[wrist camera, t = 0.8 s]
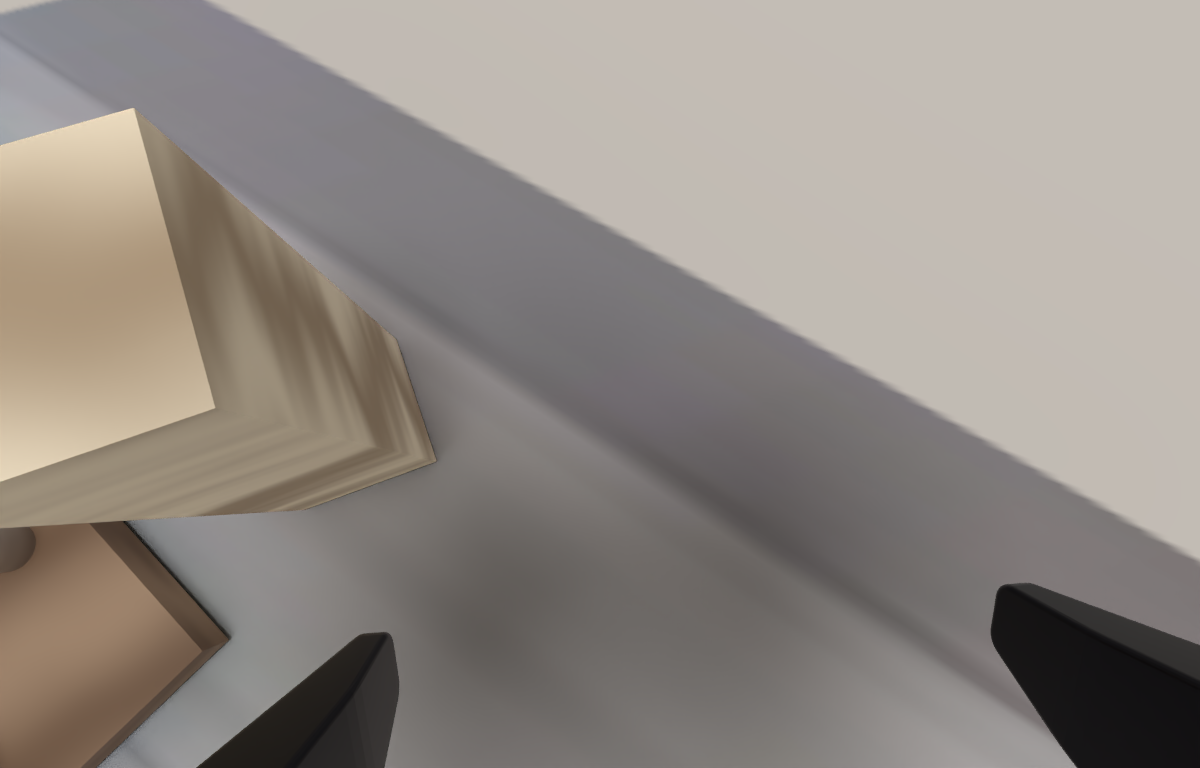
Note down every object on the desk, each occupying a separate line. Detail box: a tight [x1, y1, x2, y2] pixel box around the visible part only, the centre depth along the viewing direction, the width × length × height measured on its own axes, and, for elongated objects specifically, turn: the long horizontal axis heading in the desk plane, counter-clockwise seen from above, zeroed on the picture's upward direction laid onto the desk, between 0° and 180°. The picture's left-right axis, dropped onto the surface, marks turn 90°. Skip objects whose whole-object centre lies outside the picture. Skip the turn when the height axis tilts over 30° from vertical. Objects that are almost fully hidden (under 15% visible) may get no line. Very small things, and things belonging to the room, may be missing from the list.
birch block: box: [0, 108, 436, 528], centre depth 15 cm, size 5×5×14 cm
